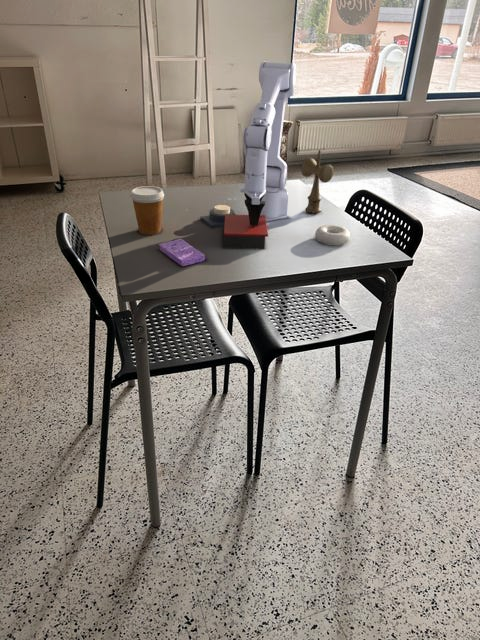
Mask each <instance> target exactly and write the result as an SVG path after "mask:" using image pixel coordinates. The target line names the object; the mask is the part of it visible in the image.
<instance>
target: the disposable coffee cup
mask: <svg viewBox="0 0 480 640" xmlns="http://www.w3.org/2000/svg"><path fill="white" fill-rule="evenodd" d="M164 197H165V193H164V191H163V189H162V188H161V187H158V186H154V185H142V186H137V187H135V188H133V189H132V190H131V192H130V198H131V201H132V203H133V209H134V214H135V218H136V222H137V228H138V232H139V233H140V234H141V235H147V236H149V235H151V236H152V235H157V234H159V233H161V231H162V220H163V219H162V218H163V205H164V204H163V203H164Z"/></svg>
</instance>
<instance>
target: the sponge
mask: <svg viewBox="0 0 480 640" xmlns="http://www.w3.org/2000/svg"><path fill="white" fill-rule="evenodd" d="M158 246H159V251H160V252H162V253H163V254H165V255H166V256H167V257H169V258H170V259H171V260H173V261H174V262H176V263H177V264H178V265H180V266H182V267H185V266H186V267H187V266H189V265H193V264H197V263H201V262H204V261H205V260H206V256H205V254H204V253H203V252H201V251H200V250H198V249H196V248H195V247H193V246H192V245H190V243H188V242H187V241H185V240H184V239H182V238H178V239H174V240H170V241H167V242H161V243H158Z"/></svg>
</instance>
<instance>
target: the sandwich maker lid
mask: <svg viewBox="0 0 480 640" xmlns="http://www.w3.org/2000/svg"><path fill="white" fill-rule="evenodd" d="M224 236H264V237H265V238H266V237H269V230H268V223H267V221H266V216H265V215H260V218H259V222H258V225H250V222H249V214H236V215H228V214H225V226H223V237H224Z"/></svg>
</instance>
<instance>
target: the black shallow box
mask: <svg viewBox="0 0 480 640" xmlns="http://www.w3.org/2000/svg"><path fill="white" fill-rule="evenodd" d="M265 244H266V237H264V236H224V235H223V248H224V249H248V250H249V249H250V250H251V249H253V250H265V246H266V245H265Z"/></svg>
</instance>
